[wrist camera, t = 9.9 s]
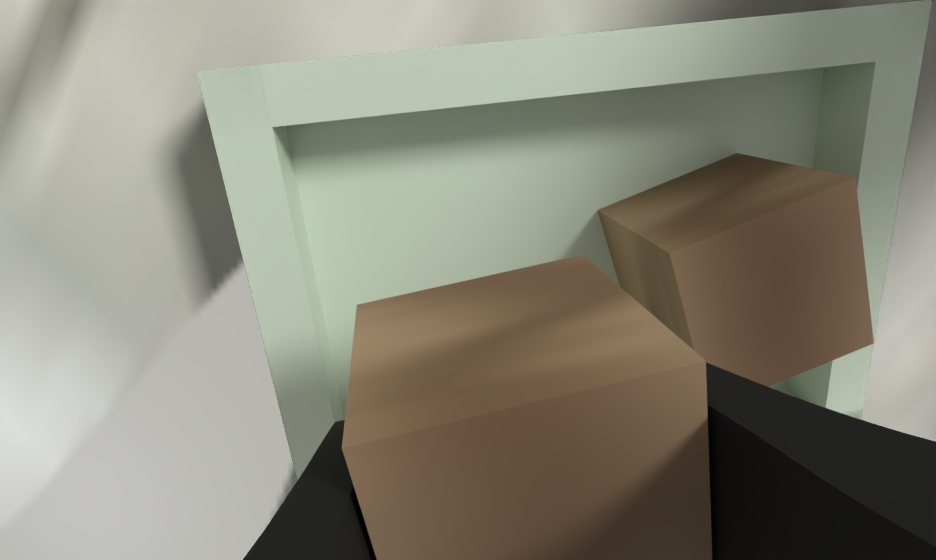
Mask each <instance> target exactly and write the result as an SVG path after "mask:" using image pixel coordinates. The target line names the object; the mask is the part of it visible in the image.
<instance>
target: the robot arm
mask: <svg viewBox="0 0 936 560" xmlns="http://www.w3.org/2000/svg"><path fill="white" fill-rule="evenodd" d="M706 379H707V410H708V441H709V472H710V504H711V535H712V560H936V442H935V441H931V440H927V439H924V438H920V437H916V436H913V435H909V434H905V433H902V432H899V431H895V430H892V429H889V428H885V427H882V426H879V425H876V424H872V423H869V422H866V421H863V420H860V419H857V418H854V417H851V416H848V415H845V414H842V413H839V412H836V411H833V410H830V409H827V408H824V407H821V406H819V405H816V404H813V403H810V402H807V401H805V400H802V399H799V398H796V397H794V396H791V395H788V394H786V393H783V392H780V391H778V390H775V389H772V388H770V387H767V386H765V385H762V384H759V383H757V382H754V381H752V380H749V379H747V378H744V377H742V376H739V375H737V374H734V373H732V372H729V371H727V370H724V369H722V368H719V367H717V366H714V365H712V364H709V363H707V362H706ZM344 422H345V420H341V421H337V422H335V423H334V424H333V425H332V427H331V428H330V430H329V431H328V433H327V434H326V436H325V437H324V439H323V441H322V442H321V444H320V445H319V447H318V449H317V450H316V452H315V454H314V455H313V457H312V458H311V460H310V462H309V463H308V465H307V466H306V468H305V470H304V471H303V473H302V474H301V476H300V477H299V479H298V481H297V482H296V484H295V485H294V487H293V488H292V490H291V491H290V493H289V494H288V496H287V497H286V499H285V500H284V502H283V503H282V505H281V506H280V508H279V509H278V511H277V512H276V514H275V515H274V517H273V518H272V520H271V521H270V523H269V524H268V526H267V527H266V529H265V530H264V532H263V533H262V534H261V536H260V537H259V538H258V540H257V541H256V543H255V544H254V545H253V547H252V548H251V550H250V551H249V552H248V553H247V555H246V556H245V558H244V559H243V560H377V559H376V556H375V552H374V549H373V546H372V543H371V540H370V536H369V533H368V530H367V527H366V524H365V521H364V517H363V514H362V511H361V508H360V505H359V502H358V498H357V495H356V492H355V489H354V486H353V482H352V479H351V476H350V473H349V470H348V467H347V463H346V460H345V457H344V454H343V451H342V441H343V432H344Z"/></svg>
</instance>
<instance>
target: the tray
mask: <svg viewBox="0 0 936 560" xmlns="http://www.w3.org/2000/svg"><path fill="white" fill-rule="evenodd" d="M931 6H932V0H921V1H910V2H900V3H890V4H879V5H869V6H859V7H849V8H838V9H828V10H818V11H808V12H797V13H787V14H777V15H766V16H756V17H746V18H736V19H725V20H715V21H705V22H695V23H684V24H674V25H664V26H653V27H643V28H633V29H623V30H612V31H602V32H592V33H582V34H571V35H561V36H551V37H540V38H530V39H520V40H510V41H499V42H489V43H479V44H468V45H458V46H448V47H438V48H427V49H417V50H407V51H397V52H386V53H376V54H366V55H355V56H345V57H335V58H325V59H314V60H304V61H294V62H284V63H273V64H263V65H253V66H242V67H232V68H222V69H212V70H201V71H197V75H198V80H199V84H200V88H201V92H202V96H203V100H204V104H205V108H206V112H207V116H208V120H209V124H210V128H211V132H212V136H213V140H214V144H215V148H216V152H217V157H218V161H219V165H220V169H221V173H222V177H223V181H224V185H225V189H226V193H227V197H228V201H229V205H230V209H231V213H232V217H233V221H234V225H235V229H236V234H237V238H238V242H239V246H240V250H241V254H242V258H243V262H244V266H245V270H246V274H247V278H248V282H249V286H250V290H251V294H252V298H253V302H254V306H255V311H256V315H257V319H258V322H259V327H260V331H261V335H262V339H263V343H264V347H265V351H266V355H267V359H268V363H269V367H270V371H271V375H272V379H273V383H274V387H275V392H276V395H277V399H278V404H279V408H280V412H281V416H282V420H283V424H284V428H285V432H286V436H287V440H288V444H289V448H290V452H291V456H292V460H293V465H294V469H295V473H296V477H297V481H298V479H299V477H300V476H301V474H302V473H303V471H304V470H305V468H306V466H307V465H308V463H309V462H310V460H311V458H312V457H313V455H314V454H315V452H316V450H317V449H318V447H319V445H320V444H321V442H322V441H323V439H324V437H325V436H326V434H327V433H328V431H329V430H330V428H331V427H332V425H333V424H334V423H335V422H337V421H341V420H345V413H346V403H347V394H348V384H349V374H350V365H351V355H352V346H353V336H354V327H355V317H356V307H357V305H358V304H363V303H367V302H372V301H376V300H381V299H385V298H390V297H394V296H399V295H403V294H408V293H412V292H417V291H421V290H426V289H430V288H435V287H439V286H444V285H448V284H453V283H457V282H462V281H466V280H471V279H475V278H480V277H484V276H489V275H493V274H498V273H502V272H507V271H511V270H516V269H520V268H525V267H529V266H534V265H538V264H543V263H547V262H552V261H556V260H561V259H565V258H570V257H574V256H579V255H584V256H585V257H586V258H587V259H588V260H590V261H591V262H592V263H593V264H594V265H595V266H597V267H598V268H599V269H600V270H601V271H602V272H604V273H605V274H606V275H607V276H608V277H609V278H610V279H612V280H613V281H614V282H615V283H616V284H617V285H619V282H618V278H617V275H616V272H615V268H614V265H613V261H612V258H611V255H610V251H609V248H608V244H607V241H606V238H605V234H604V231H603V227H602V224H601V221H600V217H599V214H598V211H597V210H599V209H601V208H604V207H606V206H609V205H611V204H614V203H616V202H618V201H621V200H623V199H626V198H628V197H631V196H633V195H636V194H638V193H640V192H643V191H645V190H648V189H650V188H653V187H655V186H658V185H660V184H662V183H665V182H667V181H670V180H672V179H675V178H677V177H680V176H682V175H684V174H687V173H689V172H692V171H694V170H697V169H699V168H702V167H704V166H706V165H709V164H711V163H714V162H716V161H719V160H721V159H724V158H726V157H728V156H731V155H733V154H736V153H739V154H744V155H749V156H754V157H759V158H764V159H769V160H773V161H778V162H783V163H788V164H793V165H798V166H803V167H808V168H812V169H817V170H822V171H827V172H832V173H837V174H842V175H847V176H852V177H856V186H857V195H858V204H859V213H860V222H861V231H862V240H863V249H864V258H865V267H866V276H867V285H868V294H869V303H870V313H871V322H872V331H873V340H874V339H875V333H876V327H877V321H878V316H879V310H880V304H881V298H882V292H883V286H884V281H885V275H886V269H887V263H888V257H889V251H890V246H891V240H892V234H893V228H894V222H895V216H896V211H897V205H898V199H899V193H900V187H901V181H902V176H903V170H904V164H905V158H906V152H907V146H908V140H909V135H910V129H911V123H912V117H913V111H914V105H915V100H916V94H917V88H918V82H919V76H920V70H921V65H922V59H923V53H924V47H925V41H926V35H927V30H928V24H929V18H930V12H931ZM619 286H620V285H619ZM873 345H874V344H871V345H869V346H866V347H864V348H861V349H859V350H857V351H854V352H852V353H849V354H847V355H845V356H842V357H840V358H837V359H835V360H832V361H830V362H828V363H825V364H823V365H820V366H818V367H815V368H813V369H811V370H808V371H806V372H803V373H801V374H799V375H796V376H794V377H791V378H789V379H786V380H784V381H782V382H779V383H777V384H774V385H772V386H769V387H770V388H772V389H775V390H778V391H780V392H783V393H786V394H788V395H791V396H794V397H796V398H799V399H802V400H805V401H807V402H810V403H813V404H816V405H819V406H821V407H824V408H827V409H830V410H833V411H836V412H839V413H842V414H845V415H848V416H851V417H854V418H857V419H860V420H861V415H862V409H863V403H864V397H865V392H866V386H867V380H868V374H869V368H870V362H871V356H872V351H873Z"/></svg>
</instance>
